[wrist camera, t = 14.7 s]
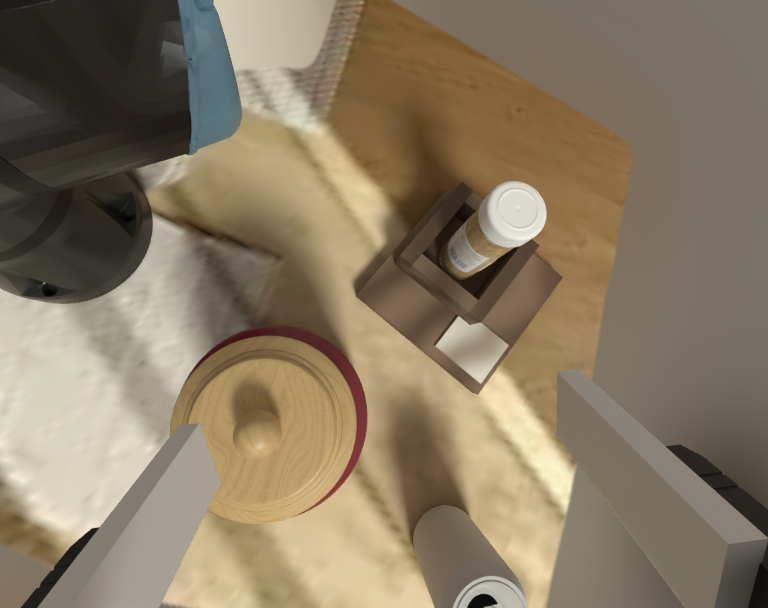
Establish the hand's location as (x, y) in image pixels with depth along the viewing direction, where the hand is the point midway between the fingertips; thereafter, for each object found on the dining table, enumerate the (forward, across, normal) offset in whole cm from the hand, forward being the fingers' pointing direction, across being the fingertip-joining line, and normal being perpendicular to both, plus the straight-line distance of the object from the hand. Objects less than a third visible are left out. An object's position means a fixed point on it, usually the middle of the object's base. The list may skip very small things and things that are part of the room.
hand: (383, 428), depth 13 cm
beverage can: (+16, +3, -26) cm, 30 cm away
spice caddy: (+27, +9, -4) cm, 29 cm away
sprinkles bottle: (+27, +9, -1) cm, 28 cm away
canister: (+21, -10, -11) cm, 26 cm away
